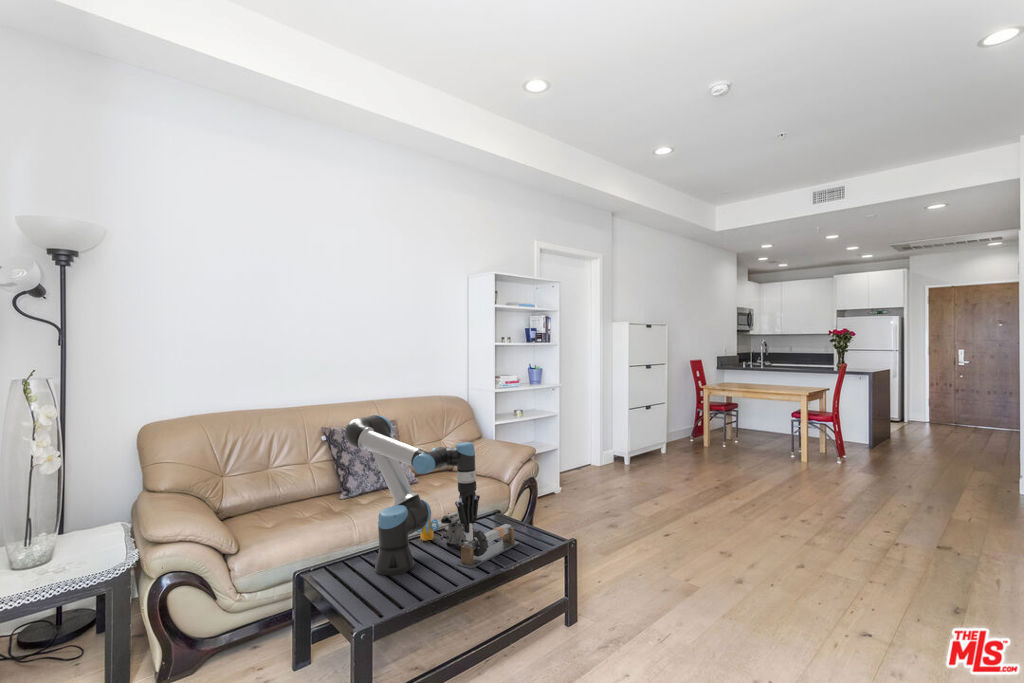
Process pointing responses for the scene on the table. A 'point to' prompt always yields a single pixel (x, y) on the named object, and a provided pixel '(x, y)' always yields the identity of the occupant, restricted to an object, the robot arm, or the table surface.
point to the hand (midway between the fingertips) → (469, 539)
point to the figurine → (453, 530)
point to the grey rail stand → (492, 551)
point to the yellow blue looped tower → (428, 530)
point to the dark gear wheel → (480, 542)
